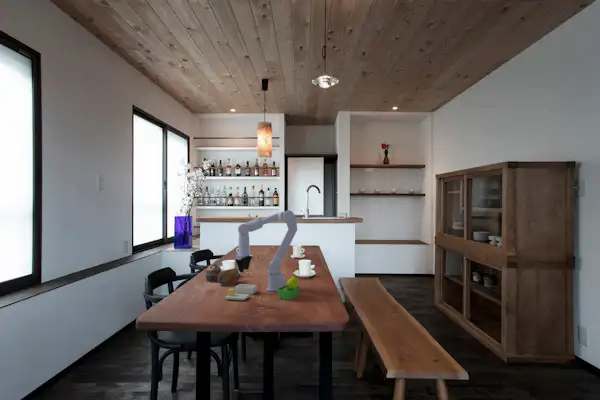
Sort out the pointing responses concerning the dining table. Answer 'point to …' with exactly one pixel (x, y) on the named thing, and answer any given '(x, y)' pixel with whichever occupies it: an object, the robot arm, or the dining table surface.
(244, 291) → the tub
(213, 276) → the cupcake
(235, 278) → the tin
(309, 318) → the dining table surface
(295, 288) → the fruit basket
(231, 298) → the lid
